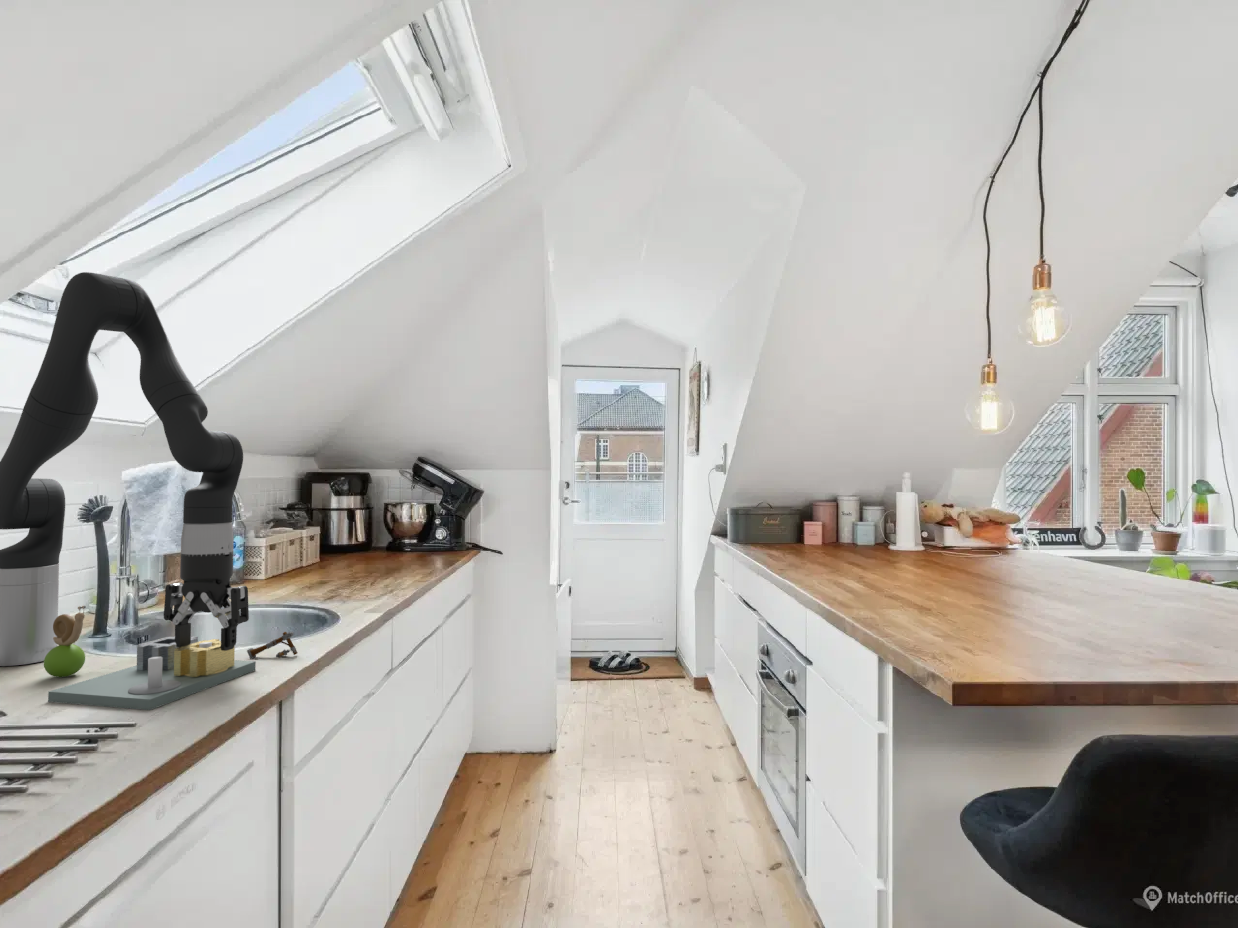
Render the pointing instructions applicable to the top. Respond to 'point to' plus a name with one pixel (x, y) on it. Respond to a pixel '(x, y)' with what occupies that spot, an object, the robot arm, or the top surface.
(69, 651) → the snail figurine
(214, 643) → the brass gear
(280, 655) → the brown grey angled piece
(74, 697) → the gear board
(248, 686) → the top surface
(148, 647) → the grey hollow block
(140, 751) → the top surface
